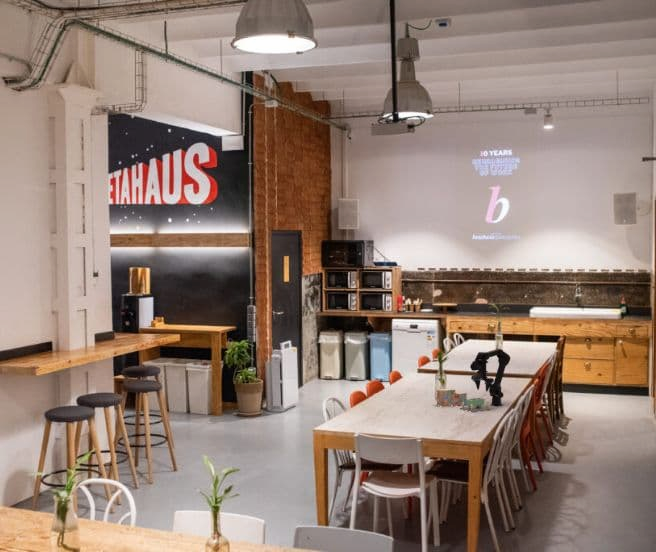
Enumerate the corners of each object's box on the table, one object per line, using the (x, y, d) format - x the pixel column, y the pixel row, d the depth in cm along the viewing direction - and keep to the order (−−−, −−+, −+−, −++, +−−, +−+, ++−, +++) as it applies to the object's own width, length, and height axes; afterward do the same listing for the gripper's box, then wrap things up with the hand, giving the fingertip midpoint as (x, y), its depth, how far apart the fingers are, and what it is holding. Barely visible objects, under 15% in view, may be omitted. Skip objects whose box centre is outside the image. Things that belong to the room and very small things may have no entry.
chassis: (477, 406, 591) (477, 399, 591) (490, 410, 579) (490, 402, 579) (459, 409, 582) (459, 401, 582) (472, 412, 570) (472, 404, 570)
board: (478, 403, 586) (478, 397, 586) (484, 404, 581) (484, 398, 581) (466, 404, 580) (466, 398, 580) (471, 406, 575) (471, 400, 575)
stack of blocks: (463, 404, 603) (463, 387, 602) (466, 405, 597) (466, 389, 596) (436, 405, 598) (436, 389, 598) (439, 406, 592) (439, 390, 591)
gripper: (465, 368, 591) (465, 389, 591) (482, 371, 575) (482, 393, 575) (477, 367, 597) (476, 388, 597) (494, 370, 581) (494, 392, 581)
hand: (482, 390), depth 588 cm, fingers open, 9 cm apart
